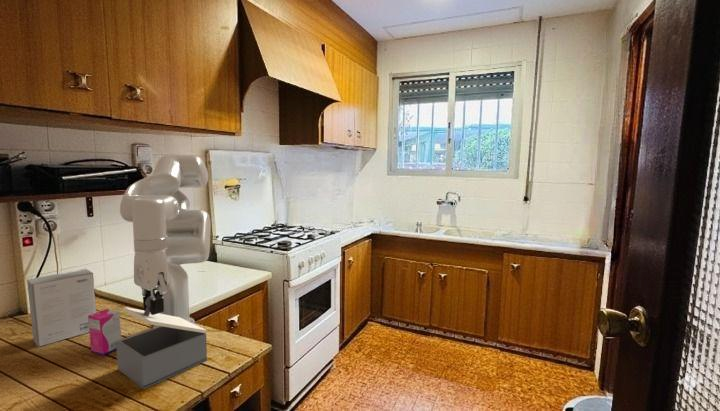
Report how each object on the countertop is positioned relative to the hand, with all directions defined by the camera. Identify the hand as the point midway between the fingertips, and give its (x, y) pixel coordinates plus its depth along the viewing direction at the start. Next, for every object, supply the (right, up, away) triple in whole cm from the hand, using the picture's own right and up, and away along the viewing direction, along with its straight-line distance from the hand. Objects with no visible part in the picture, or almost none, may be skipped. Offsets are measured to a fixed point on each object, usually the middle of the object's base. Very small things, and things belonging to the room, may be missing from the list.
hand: (153, 310), depth 98 cm
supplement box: (-21, -15, +11) cm, 28 cm away
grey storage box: (+1, -16, +3) cm, 16 cm away
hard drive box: (-40, -14, +20) cm, 47 cm away
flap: (+2, -4, +3) cm, 5 cm away
